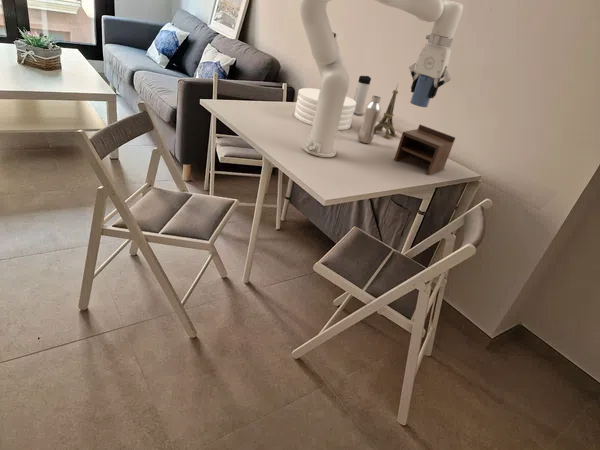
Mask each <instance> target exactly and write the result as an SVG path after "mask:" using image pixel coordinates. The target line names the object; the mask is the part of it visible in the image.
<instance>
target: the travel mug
mask: <svg viewBox="0 0 600 450" xmlns="http://www.w3.org/2000/svg"><path fill="white" fill-rule="evenodd" d="M371 81H372V77H370V76H369V75H359V77H358V80H357V84H356V89H355V91H354V96H353V100H354V101H356V106H355V111H354V112H353V113H354V115H355V116H362V114H363V112H364V111H363V110H364V109H365V108H364V107H365V104H366V101H367V97H368V93H369V88H370V85H371ZM354 115H353V116H354Z"/></svg>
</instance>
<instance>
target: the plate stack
mask: <svg viewBox="0 0 600 450" xmlns="http://www.w3.org/2000/svg"><path fill="white" fill-rule="evenodd" d="M319 93H320V88H314V87H313V88H311V87H303V88H300V89H298V92H297V97H296V99H297V100H296V103H295V107H294V113H293V114H294V117H295V118H296V119H297V120H298V121H300V122H302V123H305V124H307V125H310V126H312V125H313V121H314V116H315V111H316V106H317V102H318V97H319ZM355 106H356V101H354V98H352V97H349V96H348V95H346V97H345V101H344V104H343V108H342V112H341V117H340V121H339V125H338V129H337V131H345V130H349V129H350V128H351V126H352V122H353V118H354V113H353V112H354V111H355Z"/></svg>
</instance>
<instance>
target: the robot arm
mask: <svg viewBox="0 0 600 450" xmlns="http://www.w3.org/2000/svg"><path fill="white" fill-rule="evenodd" d="M330 1H332V0H300V4H299V12H300V13H299V14H300V18H301V22H302V25H303V28H304V32H305V34H306V38H307V40H308V43H309V46H310V50H311V55H312V57H313V59H314V60H315V64H316V66H317V69H318V71H319V74H320V78H321V84H320V88H319V89H320V93H319V97H318V102H317V106H316V111H315V116H314V121H313V125H311V129H310V130H311V131H310V136H309V138H308V140H307V142H304V143H302V144H301V149H303V150H304V151H305V152H306V153H308V154H311V155H312V156H316V157H320V158H333V157H335V156H336V153H337V152H336V149H334V145H335V141H336V138H337V133H338V130H337V129H338V125H339V121H340V117H341V112H342V108H343V104H344V101H345V97H346V96H347V95H348V91H349V87H350V77H349V76H350V75H349V73H348V71H347V68H346V65H345V62H344V59H343V56H342V53H341V50H340V46H339V43H338V40H337V38H335V35H334V33H333V29H332V27H331V24H330V20H329V17H328V12H327V5H328V3H329V2H330ZM375 1H376V2H378V3H380V4H383V5H385V6H387V7H391V8H394V9H399V10H401V11H404V12H406V13H408V14H410V15H412V16H415V17H416V18H417V19H418V20H420V21H423V22H427V23H431V22H434V23H433V26H432V28H431V32H430V33H429V34H426V35H425V40H427V42H425V43H424V45H423V47H422V48H421V50H420V52H419V54H418V56H417V60H416V62H414V63H412V64H411V65H409V67H408V69H409V72H410V75H411V77H412V80H413V81H412V83H411V86H410V89H411V90H410V93H413V92H414V89H415V86H416V83H417V80H418V77H419V74H421V75H424V76H427V77H431V78H434V86H433V87H432V88H431V91H430V94H429V98H430V99H434V98H435V97H436V96H437V92H438V90H439V88H440V87H441V86H443V85H445V84H447V83H448V82H449V81H451V79H452V78H451V76H450V73H449V72H448V67H449V63H450V59H451V53H452V49H451V45H452V43H453V40H454V37H455V35H456V32H457V29H458V26H459V24H460V20H461V17H462V14H463V11H464V5H463V4H462V3H460V2H457V1H452V0H375ZM441 79H442V80H441Z"/></svg>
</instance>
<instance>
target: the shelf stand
mask: <svg viewBox="0 0 600 450" xmlns="http://www.w3.org/2000/svg"><path fill="white" fill-rule="evenodd" d="M455 140H456V137H455V136H453V135H450V134H448V133H445V132H442V131H439V130H436V129H433V128H432V127H428V126H425V125H423V124H419V125H418V127H417V128H415V129H409V130H406V131H402V134H401V137H400V140H399V143H398V146H397V150H396V153H395V156H394V158H393V160H394V161H396V162H397V161H401V160H404V159H407V158H410V157H411V158H412V159H413V158H414V159H416V160H418V161H421V162H423V163H425V164H428V165H429V167H428V169H427V172H426V175H427V176H430V175H433V174H435V173H438V172H440V171H443V170H444V169H445V166H446V164H447V161H448V158H449V156H450V153H451V150H452V148H453V146H454V143H455Z"/></svg>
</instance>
